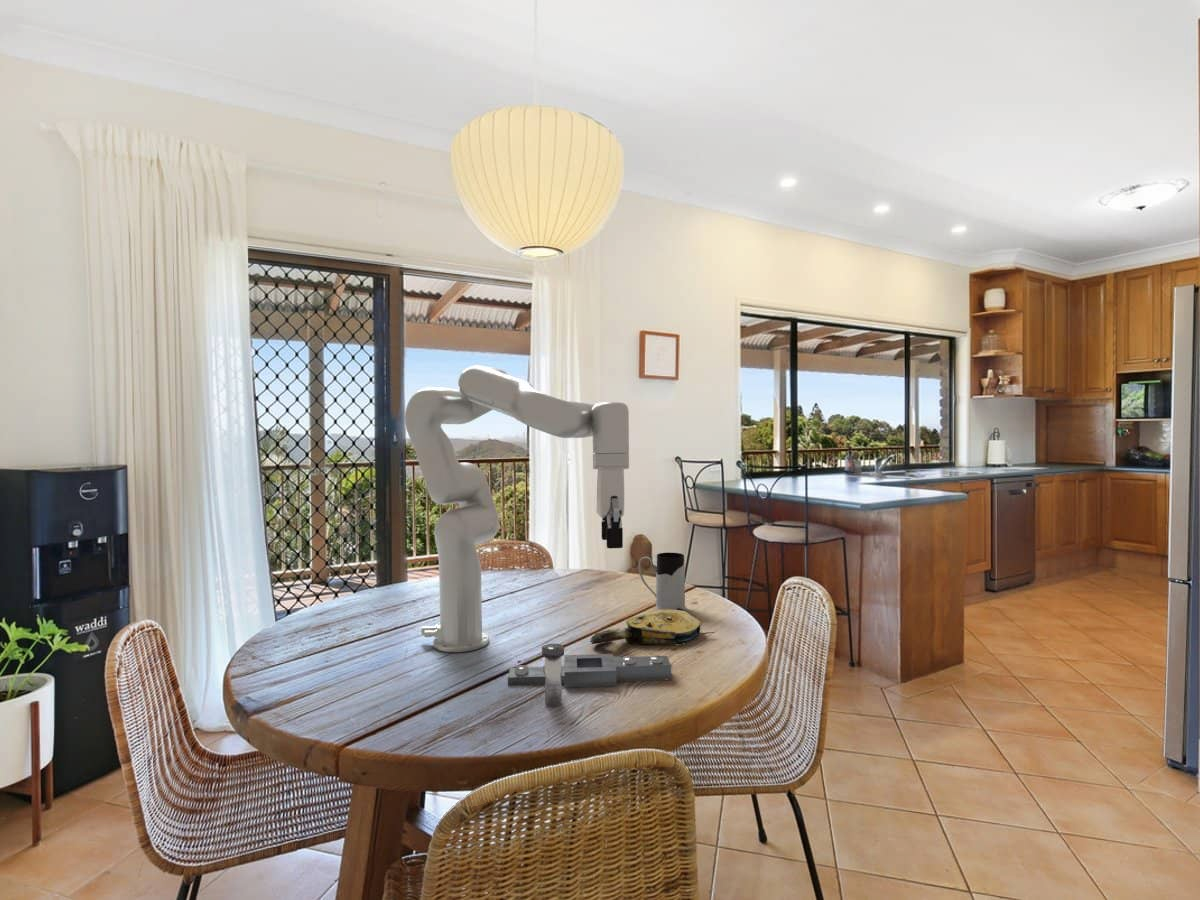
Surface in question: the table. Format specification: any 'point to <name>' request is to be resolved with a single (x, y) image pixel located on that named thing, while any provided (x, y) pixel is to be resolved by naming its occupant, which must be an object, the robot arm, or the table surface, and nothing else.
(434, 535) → the robot arm
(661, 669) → the chain end right
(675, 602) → the grey black mug
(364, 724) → the table surface
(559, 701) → the steel pin
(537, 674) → the chain end left
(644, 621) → the pulley block
